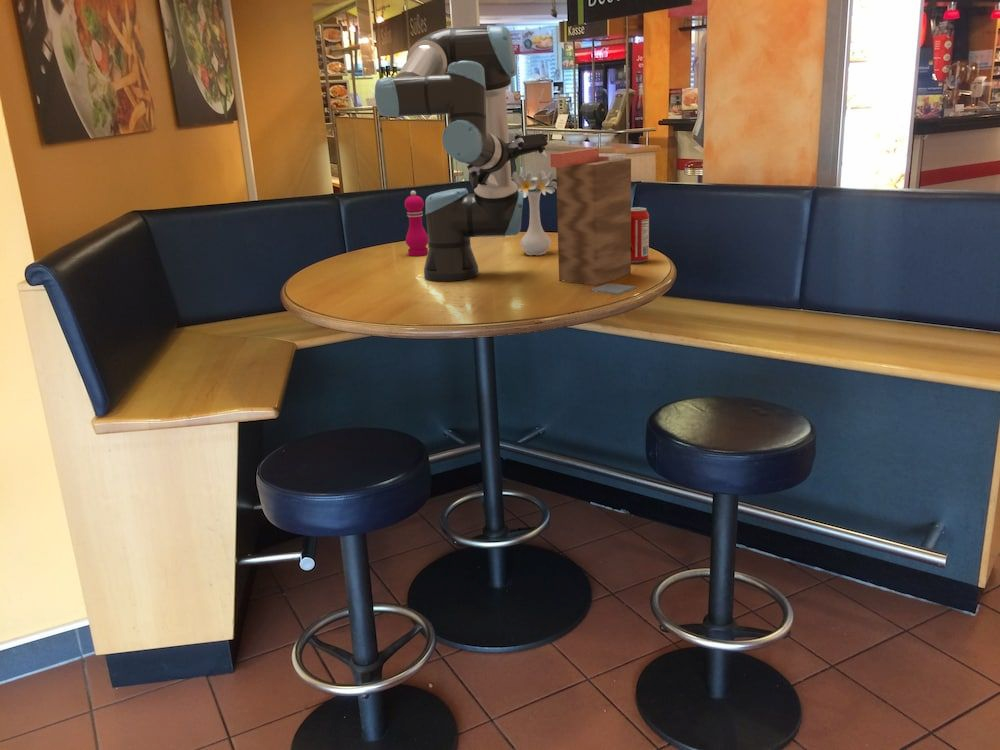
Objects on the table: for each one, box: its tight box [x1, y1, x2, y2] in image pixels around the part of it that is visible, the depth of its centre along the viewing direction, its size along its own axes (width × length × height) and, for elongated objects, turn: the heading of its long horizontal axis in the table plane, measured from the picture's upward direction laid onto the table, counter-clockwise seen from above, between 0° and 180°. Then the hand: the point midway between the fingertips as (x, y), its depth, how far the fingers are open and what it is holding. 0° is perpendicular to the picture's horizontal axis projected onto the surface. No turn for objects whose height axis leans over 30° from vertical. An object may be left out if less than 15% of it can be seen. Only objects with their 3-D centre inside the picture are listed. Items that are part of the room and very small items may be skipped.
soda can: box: [631, 206, 650, 264], centre depth 235 cm, size 8×8×15 cm
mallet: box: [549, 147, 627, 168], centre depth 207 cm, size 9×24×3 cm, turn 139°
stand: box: [555, 157, 632, 286], centre depth 216 cm, size 12×16×30 cm
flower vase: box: [511, 170, 557, 256], centre depth 252 cm, size 13×18×25 cm
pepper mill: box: [404, 190, 429, 257], centre depth 261 cm, size 7×7×20 cm
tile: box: [590, 282, 636, 296], centre depth 206 cm, size 8×8×1 cm
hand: (518, 166), depth 196 cm, fingers open, 13 cm apart
